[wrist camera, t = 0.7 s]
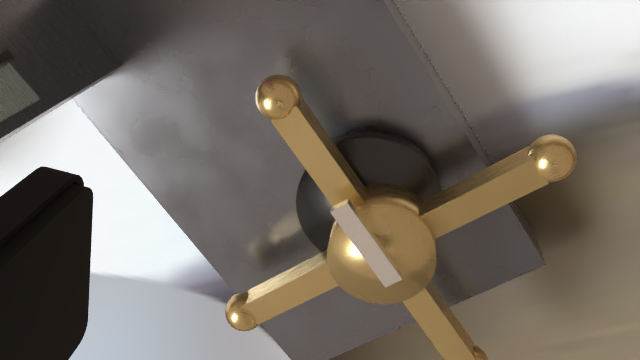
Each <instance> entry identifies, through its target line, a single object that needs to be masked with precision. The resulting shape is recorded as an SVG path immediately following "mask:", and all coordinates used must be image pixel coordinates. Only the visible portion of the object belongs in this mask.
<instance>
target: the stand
mask: <svg viewBox="0 0 640 360" xmlns="http://www.w3.org/2000/svg"><path fill="white" fill-rule="evenodd" d="M276 74H281V75H286V76H288V77H290V78H292V79H293V80H294V81H295V82H296V83H297V84H298V86H299V87H300V89H301V93H302V98H303V99H304V101H305V102H306V103H307V105H308V106H309V108H310V109H311V111H312V112H313V113H314V115H315V116H316V118H317V119H318V121H319V122H320V123H321V125H322V126H323V128H324V129H325V131H326V132H327V133H328V135H329V136H330V138H331V139H334V138H336V137H338V136H341V135H344V134H347V133H351V132H356V131H366V130H369V131H381V132H387V133H390V134H394V135H397V136H399V137H402V138H404V139H406V140H408V141H409V142H411V143H413V144H414V145H415V146H417V147H418V148H419V149H420V150H421V151H422V152H423V153H424V154H425V155H426V156H427V157H428V158H429V159H430V161H431V162H432V163H433V165H434V167H435V169H436V171H437V173H438V176H439V178H440V182H441V186H442V190H444V189H446V188H448V187H450V186H452V185H454V184H456V183H458V182H460V181H462V180H464V179H466V178H468V177H470V176H471V175H473V174H475V173H477V172H479V171H481V170H483V169H485V168H487V167H489V166H491V165H493V164H492V163H491V161H490V159H489V158H488V156H487V154H486V153H485V151H484V149H483V148H482V146H481V145H480V143H479V141H478V140H477V138H476V136H475V135H474V133H473V131H472V130H471V128H470V126H469V125H468V123H467V122H466V120H465V118H464V117H463V115H462V113H461V112H460V110H459V108H458V107H457V105H456V103H455V102H454V100H453V99H452V97H451V95H450V94H449V92H448V90H447V89H446V87H445V85H444V84H443V82H442V80H441V79H440V77H439V76H438V74H437V72H436V71H435V69H434V67H433V66H432V64H431V62H430V61H429V59H428V57H427V56H426V54H425V53H424V51H423V49H422V48H421V46H420V44H419V43H418V41H417V39H416V38H415V36H414V34H413V33H412V31H411V30H410V28H409V26H408V25H407V23H406V21H405V20H404V18H403V16H402V15H401V13H400V11H399V10H398V8H397V7H396V5H395V3H394V2H393V0H0V142H2V141H4V140H5V139H7V138H9V137H10V136H12V135H13V134H15V133H17V132H18V131H20V130H22V129H23V128H25V127H27V126H28V125H30V124H31V123H33V122H35V121H36V120H38V119H40V118H41V117H43V116H45V115H46V114H48V113H49V112H51V111H53V110H54V109H56V108H58V107H59V106H61V105H62V104H64V103H66V102H67V101H69V100H71V99H72V100H73V101H74V102H75V103H76V104H77V105H78V107H79V108H80V109H81V110H82V111H83V113H84V114H85V115H86V116H87V117H88V119H89V120H90V121H91V122H92V123H93V125H94V126H95V127H96V128H97V129H98V130H99V132H100V133H101V134H102V135H103V136H104V138H105V139H106V140H107V141H108V142H109V144H110V145H111V146H112V147H113V148H114V150H115V151H116V152H117V153H118V154H119V155H120V157H121V158H122V159H123V160H124V161H125V163H126V164H127V165H128V166H129V167H130V169H131V170H132V171H133V172H134V173H135V174H136V176H137V177H138V178H139V179H140V180H141V182H142V183H143V184H144V185H145V186H146V188H147V189H148V190H149V191H150V192H151V194H152V195H153V196H154V197H155V198H156V199H157V201H158V202H159V203H160V204H161V205H162V207H163V208H164V209H165V210H166V211H167V213H168V214H169V215H170V216H171V217H172V219H173V220H174V221H175V222H176V223H177V224H178V226H179V227H180V228H181V229H182V230H183V232H184V233H185V234H186V235H187V236H188V238H189V239H190V240H191V241H192V242H193V243H194V245H195V246H196V247H197V248H198V249H199V251H200V252H201V253H202V254H203V255H204V257H205V258H206V259H207V260H208V261H209V263H210V264H211V265H212V266H213V267H214V268H215V270H216V271H217V272H218V273H219V274H220V276H221V277H222V278H223V279H224V280H225V282H226V283H227V284H228V285H229V286H230V288H231V289H232V290H233V291H234V292H235V293H236V294H237V293H240V292H248V290H250V289H252V288H253V287H255V286H257V285H259V284H261V283H263V282H265V281H267V280H269V279H271V278H273V277H275V276H277V275H279V274H281V273H283V272H285V271H287V270H288V269H290V268H292V267H294V266H296V265H298V264H300V263H302V262H304V261H306V260H308V259H310V258H312V257H314V256H316V255H318V254H320V253H322V252H321V251H320V250H319V249H318V248H316V247H315V246H314V245H313V243H312V242H311V241H310V240H309V239H308V237H307V236H306V234H305V233H304V231H303V229H302V227H301V225H300V222H299V219H298V216H297V210H296V194H297V189H298V185H299V182H300V179H301V176H302V174H303V171H304V169H305V168H304V166H303V165H302V164H301V162H300V161H299V159H298V158H297V157H296V155H295V154H294V153H293V151H292V150H291V148H290V147H289V146H288V144H287V143H286V142H285V140H284V139H283V137H282V136H281V135H280V133H279V132H278V131H277V129H276V128H275V127H274V125H273V124H272V122H271V121H272V120H269V119H267V118H266V117H264V116H263V115H262V114H261V113H260V111H259V110H258V108H257V105H256V101H255V95H256V90H257V88H258V86H259V84H260V83H261V82H262V81H263V80H264V79H265V78H267V77H269V76H271V75H276ZM435 247H436V259H437V261H436V268H435V272H434V275H433V277H432V279H431V280H430V281H431V282H432V284H433V285H434V286H435V288H436V289H437V291H438V292H439V294H440V295H441V296H442V298H443V299H444V301H445V302H446V304H447V305H448V306H449V307H450V306H452V305H454V304H457V303H459V302H461V301H464V300H466V299H468V298H470V297H473V296H475V295H477V294H480V293H482V292H484V291H487V290H489V289H491V288H493V287H496V286H498V285H500V284H503V283H505V282H507V281H510V280H512V279H514V278H516V277H519V276H521V275H523V274H526V273H528V272H530V271H532V270H535V269H537V268H539V267H542V266H544V265H546V264H545V261H544V258H543V256H542V253H541V250H540V248H539V245H538V242H537V240H536V237H535V234H534V232H533V230H532V228H531V227H530V225H529V223H528V222H527V220H526V218H525V217H524V215H523V213H522V212H521V210H520V209H519V207H518V205H517V204H516V202H515V200H514V201H512V202H510V203H508V204H506V205H504V206H502V207H500V208H498V209H496V210H494V211H492V212H489V213H487V214H485V215H483V216H481V217H479V218H477V219H475V220H473V221H471V222H469V223H467V224H465V225H463V226H461V227H459V228H456V229H454V230H452V231H450V232H448V233H446V234H444V235H442V236H440V237H438V238H436V239H435ZM415 321H416V320H415V318H414V317H413V316H412V314H411V313H410V312H409V310H408V309H407V307H406V306H405V305H404V303H403V302H398V303H392V304H375V303H369V302H366V301H362V300H360V299H357V298H355V297H353V296H352V295H350V294H348V293H347V292H346V291H344V290H343V289H342V288H341V287H340V286H337V287H335V288H333V289H330V290H328V291H326V292H324V293H322V294H320V295H318V296H316V297H314V298H312V299H310V300H308V301H306V302H304V303H302V304H300V305H297V306H295V307H293V308H291V309H289V310H287V311H285V312H283V313H281V314H279V315H277V316H275V317H273V318H271V319H269V320H266V321H264V322H262V323H261V324H262V326H263V327H264V328H265V329H266V330H267V332H268V333H269V334H270V335H271V336H272V337H273V339H274V340H275V341H276V342H277V343H278V345H279V346H280V347H281V348H282V349H283V351H284V352H285V353H286V354H287V355H288V357H289V358H290V359H291V360H328V359H330V358H333V357H335V356H337V355H340V354H342V353H344V352H346V351H349V350H351V349H353V348H356V347H358V346H360V345H363V344H365V343H367V342H369V341H372V340H374V339H376V338H379V337H381V336H383V335H386V334H388V333H390V332H392V331H395V330H397V329H399V328H402V327H404V326H406V325H408V324H411V323H413V322H415Z"/></svg>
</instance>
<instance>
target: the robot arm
mask: <svg viewBox="0 0 640 360" xmlns="http://www.w3.org/2000/svg"><path fill="white" fill-rule="evenodd" d="M92 210H93V192H92V190H91V189H90V188H88V187H84V183H83V180H82V178H81V177H80V176H79V175H75V174H72V173H68V172H64V171H60V170H56V169H52V168H48V167H40V168H38V169H36V170H35V171H33V172H32V173H31V174H29V175H28V176H27V177H26V178H24V179H23V180H22V181H20V182H19V183H18V184H16V185H15V186H14V187H13V188H11V189H10V190H9V191H7V192H6V193H5V194H4V195H2V196H1V197H0V360H68V359H69V358H70V357H71V355H72V354H73V352H74V351H75V350H76V348H77V347H78V345H79V344H80V342H81V340H82V338H83V336H84V333H85V331H86V327H87V322H88V304H89V280H90V279H89V278H90V257H91V234H92Z"/></svg>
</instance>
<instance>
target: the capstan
mask: <svg viewBox="0 0 640 360" xmlns="http://www.w3.org/2000/svg"><path fill="white" fill-rule="evenodd" d="M255 101H256V105H257V108H258V110H259V111H260V113H261V114H262V115H263V116H264V117H266V118H267V119H269V120H272V121H271V122H272V124H273V125H274V127H275V128H276V129H277V131H278V132H279V133H280V135H281V136H282V137H283V139H284V140H285V142H286V143H287V144H288V146H289V147H290V148H291V150H292V151H293V153H294V154H295V155H296V157H297V158H298V159H299V161H300V162H301V164H302V165H303V166H304V168H305V169H304V171H303V174H302V176H301V179H300V182H299V185H298V189H297V194H296V210H297V216H298V219H299V222H300V225H301V227H302V229H303V231H304V233H305V234H306V236H307V237H308V239H309V240H310V241H311V242H312V243H313V245H314V246H315V247H316V248H318V249H319V250H320V251H321V252H322V253H320V254H318V255H316V256H314V257H312V258H310V259H308V260H306V261H304V262H302V263H300V264H298V265H296V266H294V267H292V268H290V269H288V270H287V271H285V272H283V273H281V274H279V275H277V276H275V277H273V278H271V279H269V280H267V281H265V282H263V283H261V284H259V285H257V286H255V287H253V288H252V289H250V290H248V292H240V293H237V294H235V295H234V296H232V297H231V298H230V300H229V301H228V303H227V305H226V309H225V315H226V319H227V321H228V323H229V324H230V325H231V326H232V327H233V328H234V329H237V330H239V331H249V330H252V329H254V328H256V327H257V326H258V325H259V324H260V323H262V322H264V321H266V320H269V319H271V318H273V317H275V316H277V315H279V314H281V313H283V312H285V311H287V310H289V309H291V308H293V307H295V306H297V305H300V304H302V303H304V302H306V301H308V300H310V299H312V298H314V297H316V296H318V295H320V294H322V293H324V292H326V291H328V290H330V289H333V288H335V287H337V286H340V287H341V288H342V289H343V290H344V291H346V292H347V293H348V294H350V295H352V296H353V297H355V298H357V299H360V300H362V301H366V302H369V303H375V304H392V303H398V302H403V303H404V305H405V306H406V307H407V309H408V310H409V312H410V313H411V314H412V316H413V317H414V318H415V320H416V321H417V323H418V324H419V325H420V327H421V328H422V329H423V331H424V332H425V334H426V335H427V336H428V338H429V339H430V340H431V342H432V343H433V344H434V346H435V347H436V349H437V350H438V351H439V353H440V354H441V355H442V357H443V358H444V360H488V358H487V355H486V354H485V352H484V351H483V350H482V349H481V348H479V347H478V346H476V345H474V342H473V341H472V339H471V338H470V336H469V335H468V334H467V332H466V331H465V329H464V328H463V326H462V325H461V324H460V322H459V321H458V319H457V318H456V316H455V315H454V314H453V312H452V311H451V309H450V308H449V306H448V305H447V304H446V302H445V301H444V299H443V298H442V296H441V295H440V294H439V292H438V291H437V289H436V288H435V286H434V285H433V284H432V282H431V281H430V280H431V279H432V277H433V275H434V272H435V268H436V261H437V259H436V247H435V239H436V238H438V237H440V236H442V235H444V234H446V233H448V232H450V231H452V230H454V229H456V228H459V227H461V226H463V225H465V224H467V223H469V222H471V221H473V220H475V219H477V218H479V217H481V216H483V215H485V214H487V213H489V212H492V211H494V210H496V209H498V208H500V207H502V206H504V205H506V204H508V203H510V202H512V201H514V200H516V199H518V198H520V197H523V196H525V195H527V194H529V193H531V192H533V191H535V190H537V189H539V188H541V187H543V186H545V185H547V184H549V182H557V181H561V180H563V179H565V178H566V177H568V176H569V175H570V174H571V173H572V172H573V170H574V168H575V166H576V163H577V153H576V150H575V148H574V146H573V144H572V143H571V142H570V141H569V140H567V139H566V138H564V137H562V136H559V135H545V136H542V137H540V138H538V139H536V140H535V141H534V142H533V143H532V144H531V145H530V147H529V146H528V147H526V148H524V149H522V150H520V151H518V152H516V153H514V154H512V155H510V156H508V157H507V158H505V159H503V160H501V161H499V162H497V163H495V164H493V165H491V166H489V167H487V168H485V169H483V170H481V171H479V172H477V173H475V174H473V175H471V176H470V177H468V178H466V179H464V180H462V181H460V182H458V183H456V184H454V185H452V186H450V187H448V188H446V189H444V190H442V186H441V182H440V178H439V176H438V173H437V171H436V169H435V167H434V165H433V163H432V162H431V161H430V159H429V158H428V157H427V156H426V155H425V154H424V153H423V152H422V151H421V150H420V149H419V148H418V147H417V146H415V145H414V144H413V143H411V142H409V141H408V140H406V139H404V138H402V137H399V136H397V135H394V134H390V133H387V132H381V131H369V130H366V131H356V132H351V133H347V134H344V135H341V136H338V137H336V138H334V139H331V138H330V136H329V135H328V133H327V132H326V131H325V129H324V128H323V126H322V125H321V123H320V122H319V121H318V119H317V118H316V116H315V115H314V113H313V112H312V111H311V109H310V108H309V106H308V105H307V103H306V102H305V101H304V99H303V98H302V93H301V89H300V87H299V86H298V84H297V83H296V82H295V81H294V80H293V79H292V78H290V77H288V76H286V75H281V74H276V75H271V76H269V77H267V78H265V79H264V80H263V81H262V82H261V83H260V84H259V86H258V88H257V90H256V95H255Z"/></svg>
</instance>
